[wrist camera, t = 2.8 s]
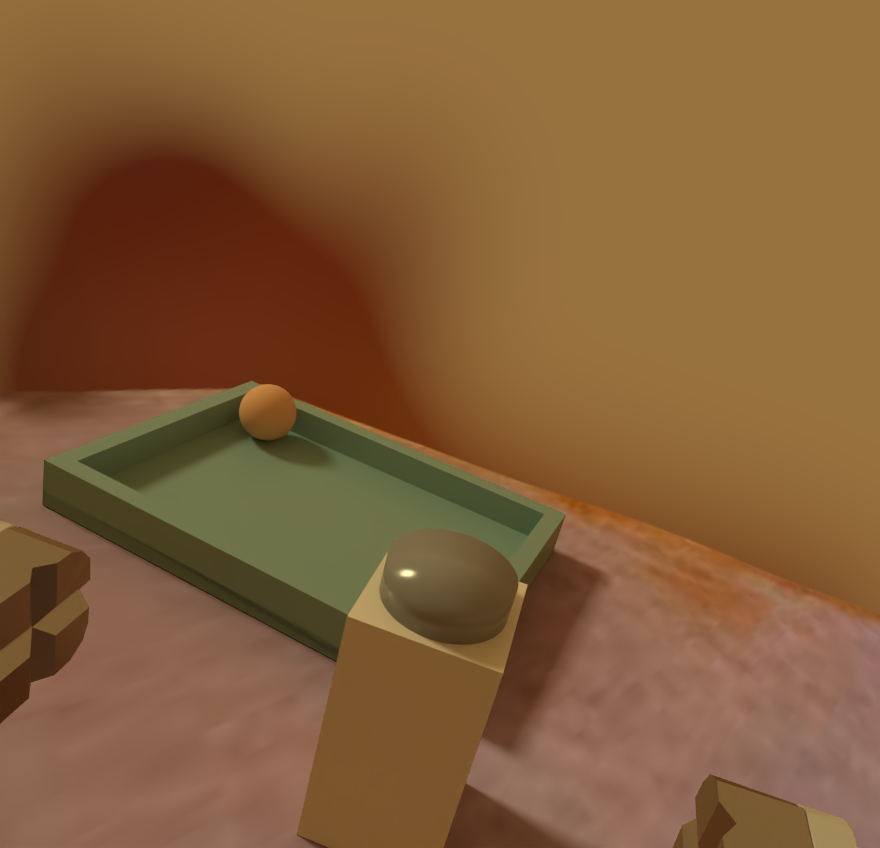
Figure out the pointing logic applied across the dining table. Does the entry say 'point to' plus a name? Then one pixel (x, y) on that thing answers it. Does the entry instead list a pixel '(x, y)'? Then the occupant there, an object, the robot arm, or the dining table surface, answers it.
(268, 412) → the ball
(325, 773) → the shaker
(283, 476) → the tray
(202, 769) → the dining table surface
